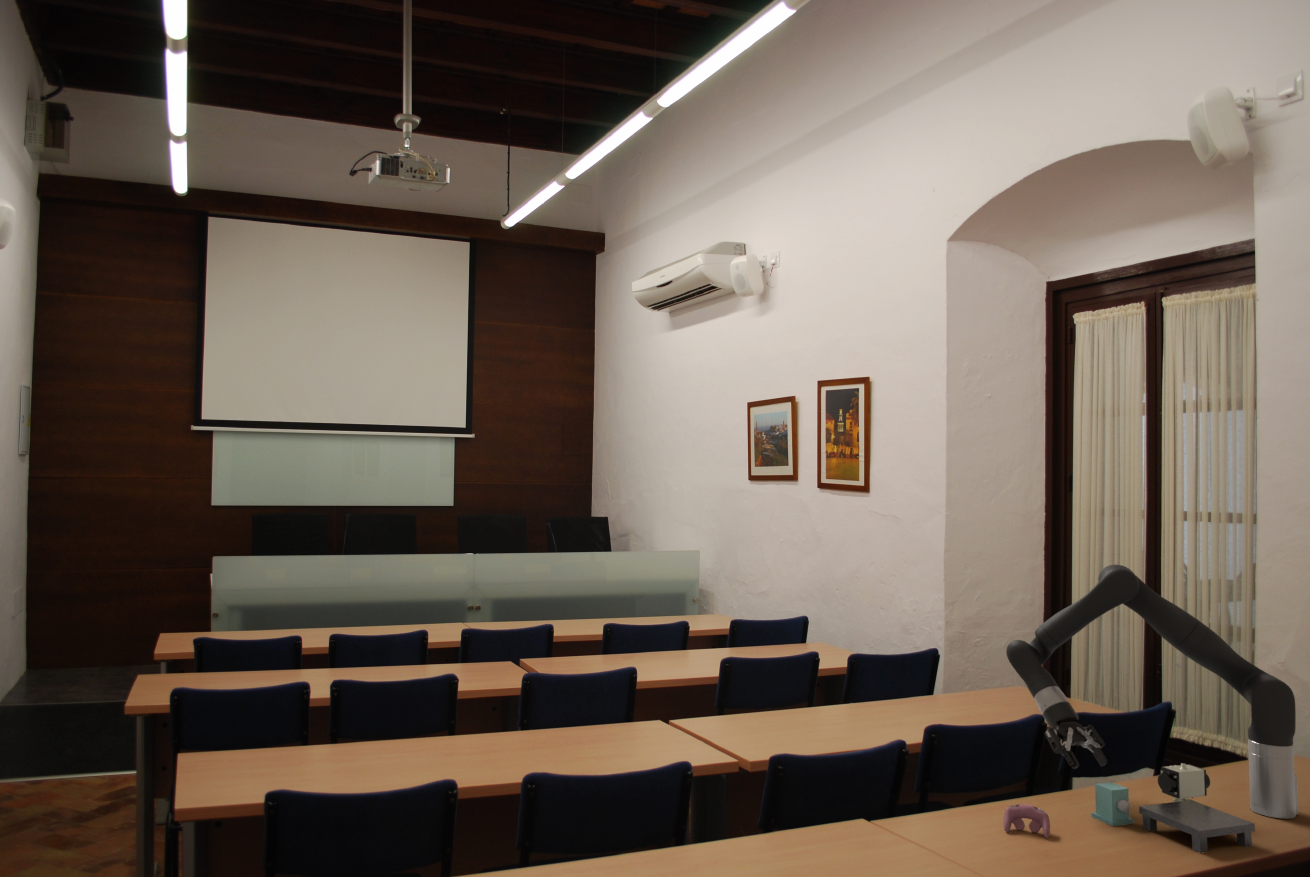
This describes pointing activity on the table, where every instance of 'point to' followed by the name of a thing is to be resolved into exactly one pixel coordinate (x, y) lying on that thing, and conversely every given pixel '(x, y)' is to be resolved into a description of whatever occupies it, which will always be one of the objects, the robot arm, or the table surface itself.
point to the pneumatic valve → (1183, 781)
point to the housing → (1112, 804)
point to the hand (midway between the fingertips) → (1090, 766)
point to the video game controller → (1030, 812)
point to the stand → (1197, 822)
